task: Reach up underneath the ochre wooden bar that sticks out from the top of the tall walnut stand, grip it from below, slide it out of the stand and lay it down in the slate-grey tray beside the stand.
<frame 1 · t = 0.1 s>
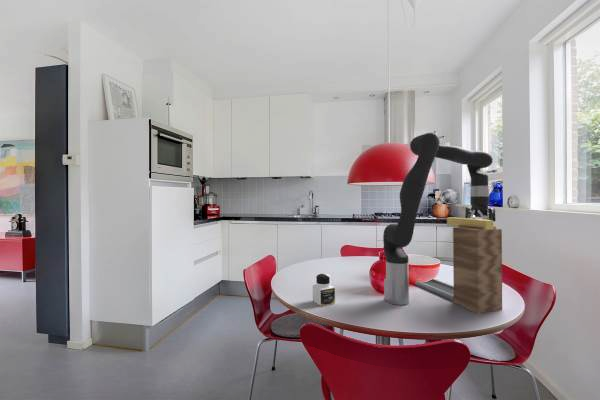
hand: (479, 229, 136), 29 cm above the table, tool pointing down, fingers open, 8 cm apart
bar: (468, 227, 121), point 32 cm above the table, touching stand
tray: (442, 291, 137), on the table
stand: (477, 305, 118), on the table
medicine bottle: (323, 303, 123), on the table
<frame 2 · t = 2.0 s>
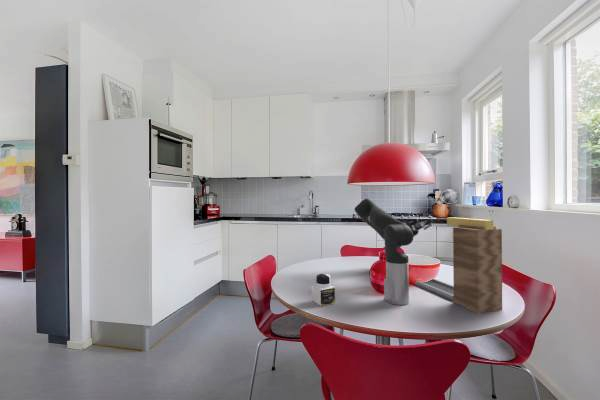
hand: (424, 220, 148), 33 cm above the table, tool pointing upward, fingers open, 8 cm apart
nothing on the table moved.
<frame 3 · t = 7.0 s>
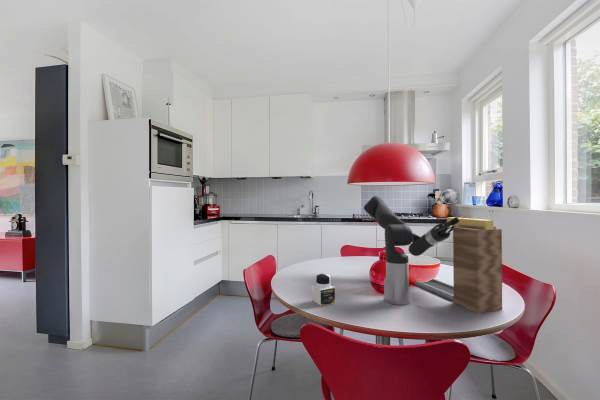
hand: (461, 219, 125), 35 cm above the table, tool pointing upward, fingers closed on bar, 3 cm apart
bar: (468, 227, 121), point 32 cm above the table, touching gripper, stand
everything else where it was.
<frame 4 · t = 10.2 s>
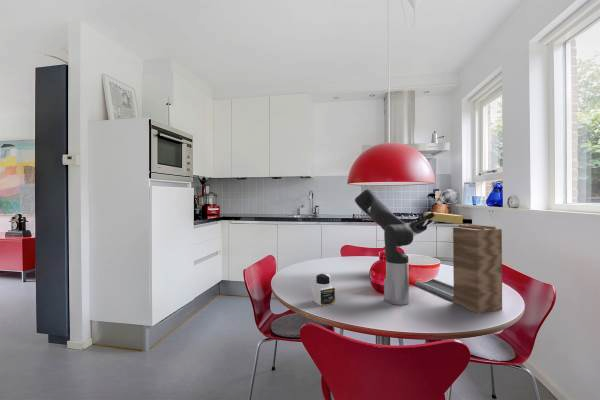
hand: (436, 214, 140), 37 cm above the table, tool pointing upward, fingers closed on bar, 3 cm apart
bar: (442, 221, 137), point 33 cm above the table, touching gripper
everything else where it was.
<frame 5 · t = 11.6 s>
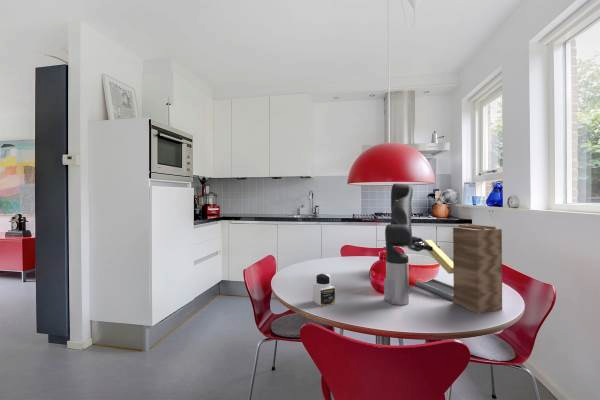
hand: (435, 248, 140), 20 cm above the table, tool horizontal, fingers closed on bar, 3 cm apart
bar: (437, 258, 139), point 15 cm above the table, tilted 30°, touching gripper
everything else where it was.
when the fingers open (11 cm above the table, at t = 13.8 s): bar drops 4 cm, resting on tray.
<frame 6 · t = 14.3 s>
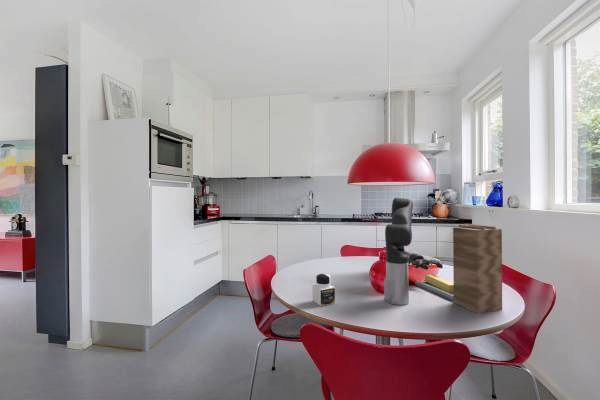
hand: (434, 267, 141), 11 cm above the table, tool horizontal, fingers open, 8 cm apart
bar: (436, 285, 140), point 2 cm above the table, touching tray
everything else where it was.
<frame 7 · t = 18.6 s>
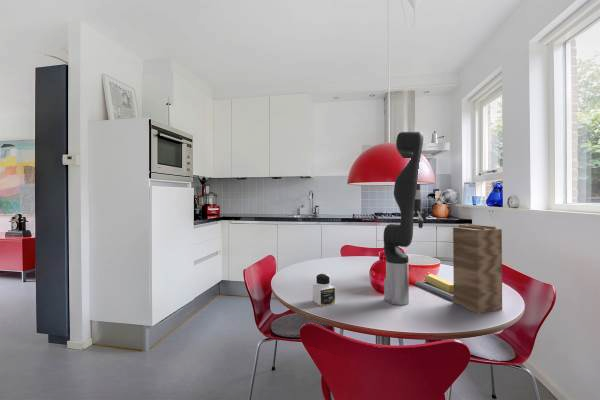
hand: (413, 228, 156), 28 cm above the table, tool pointing down, fingers open, 8 cm apart
nothing on the table moved.
at the end: bar inside the target area on the tray (3.6 cm from its centre), point 1.9 cm above the tray's base; bar point 1.9 cm above the table; the gripper is holding nothing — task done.
